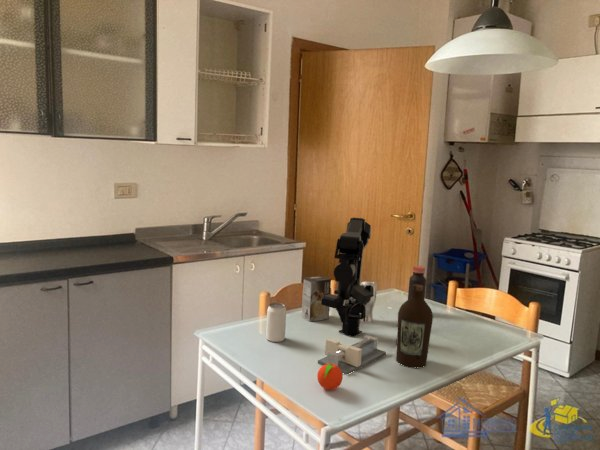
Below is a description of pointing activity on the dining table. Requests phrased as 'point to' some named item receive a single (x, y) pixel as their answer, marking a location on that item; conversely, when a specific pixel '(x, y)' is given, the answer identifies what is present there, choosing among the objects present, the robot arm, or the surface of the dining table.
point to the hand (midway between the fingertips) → (343, 323)
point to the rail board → (366, 358)
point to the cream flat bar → (351, 352)
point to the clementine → (329, 376)
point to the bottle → (417, 279)
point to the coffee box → (315, 298)
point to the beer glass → (369, 303)
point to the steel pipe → (367, 343)
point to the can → (276, 322)
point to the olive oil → (414, 330)
